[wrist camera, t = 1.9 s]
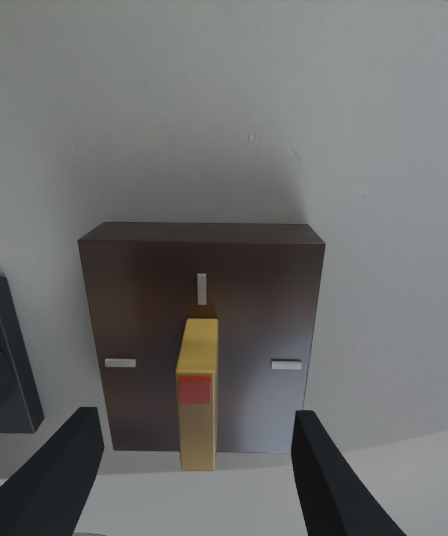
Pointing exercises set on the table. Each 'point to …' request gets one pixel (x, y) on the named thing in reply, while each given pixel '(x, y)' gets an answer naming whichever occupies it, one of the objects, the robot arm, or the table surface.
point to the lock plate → (203, 307)
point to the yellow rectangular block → (198, 395)
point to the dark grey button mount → (15, 374)
